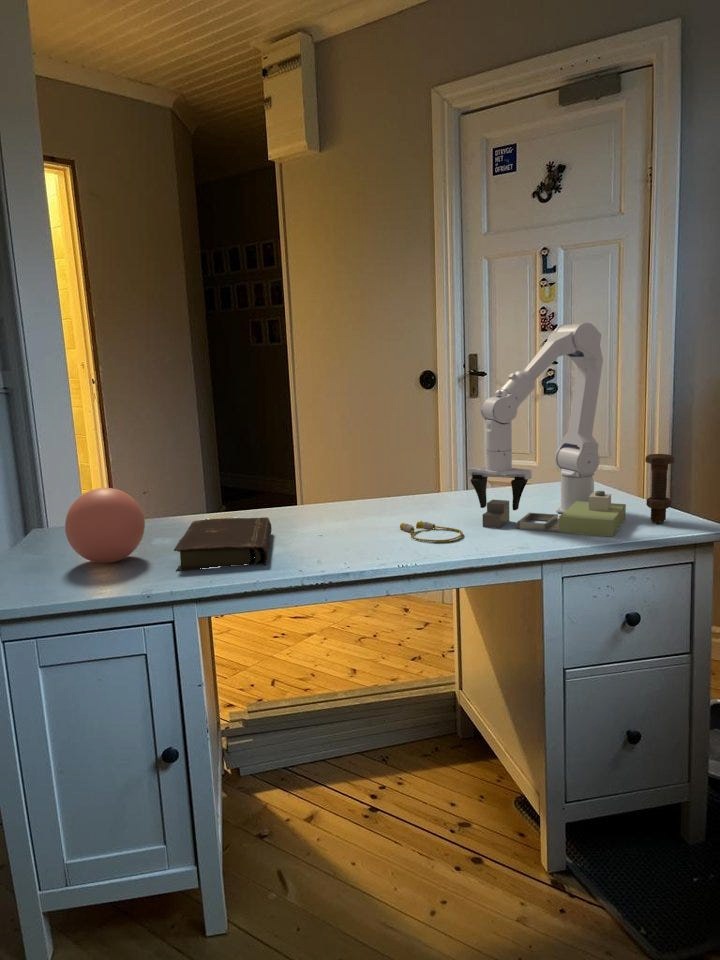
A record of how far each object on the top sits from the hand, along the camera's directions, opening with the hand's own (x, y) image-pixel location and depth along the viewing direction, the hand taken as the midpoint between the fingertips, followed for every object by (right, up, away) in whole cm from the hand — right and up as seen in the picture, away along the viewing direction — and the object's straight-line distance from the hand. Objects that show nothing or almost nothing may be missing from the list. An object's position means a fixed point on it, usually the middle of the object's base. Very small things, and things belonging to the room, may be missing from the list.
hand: (499, 508), depth 168 cm
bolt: (+34, -3, -7) cm, 35 cm away
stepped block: (-1, -4, -2) cm, 4 cm away
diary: (-60, -9, -13) cm, 63 cm away
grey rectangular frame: (+9, -4, -5) cm, 11 cm away
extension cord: (-16, -6, -8) cm, 19 cm away
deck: (+19, -4, -7) cm, 21 cm away
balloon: (-84, -10, -15) cm, 86 cm away
